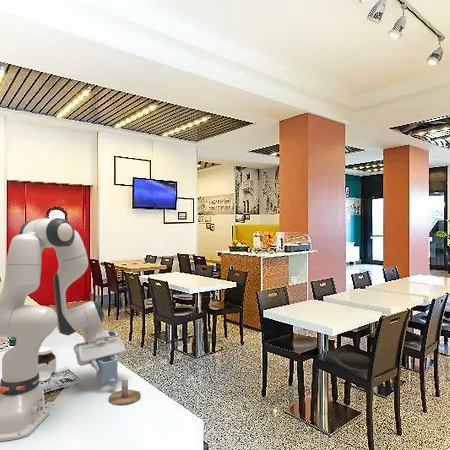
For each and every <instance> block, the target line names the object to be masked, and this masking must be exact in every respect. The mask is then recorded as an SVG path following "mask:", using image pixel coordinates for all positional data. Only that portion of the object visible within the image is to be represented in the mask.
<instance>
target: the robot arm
mask: <svg viewBox="0 0 450 450" xmlns="http://www.w3.org/2000/svg"><path fill="white" fill-rule="evenodd" d="M45 248H46V249H49V248H53V249H54V251H55V254H56V259H57V262H58V268H57V272H55V274H54V275H53V295H54V304H55V309H54V308H52V307H49V306H44V305H40V304H25V302H26V299H27V297H28V296H29V295H30V294H32V293H34V292H36V291H37V290H38V289H39V287H40V284H41V273H42V253H43V251H44V249H45ZM88 258H89V257H88V255H87V251H86V247H85V244H84V242H83V240H82V237H81V235H80V234H79V232H78V231H76V230H75V229H74V226H73V224H72V223H71V222H70V221H69V220H67V219H65V218H60V217H56V218H48V217H44V218H38V219H31V220H28V221H26V222H25V223H23V224H22V225H21V227H20V228H19V232H18V234H17V235H15V236H13V237H12V239H11V241H10V245H9V247H8V252H7V257H6V263H5V264H6V266H5V275H4V283H3V287H2V290H1V293H0V337H7V338H16V339H15V340H16V341H15V345H14V347H12V348H10V349H8V350H7V351H6V352H4V354H3V356H2V359H1V378H0V442H6V441H13V440H18V439H22V438H26V437H28V436H29V435H31V434H32V433H33V432H34V431H35V430H36V428H38V427H39V425H40V424H41V423H42V422H43V421H44V420H45V419H46V418H47V417H48V416H49V415H50V410H49V409H46V406H45V405H46V404H45V391H44V389H43V388H41V386H40V381H39V379H40V377H39V373H38V354H39V349H40V348H41V346H42V344H43V342H44V341H45V340H46V338H47V337H49V336H50V335H51V334H52V333H54V331H55V330H56V328H57V332H58V333H59V334H61V335H64V336H70V335H73V334H74V333H77V332H78V331H81V333H82V337H83V340H84V341H83V342H79V343H76V344H75V345H74V346H73V352H74V353H75V355H76V356H75V357H76V361H77V365H79V366H80V367H83V366H87V365H90V366H91V368H93V369H95V371H96V372H99V371H101V367H100V366H98V365H97V360H98V359H102V358H106V357H112V358H114V359H117V360H118V357H122V356H124V354H125V353H126V346H125V343H124V342H123V341H122V338H121V337H118V336H119V334H118V332H117V331H116V330H115V331H114V330H106V329H104V327H103V326H102V323H103V322H104V318H105V313H104V311H103V309H102V307H101V304H100V303H99V302H98V301H96V300H90V301H87V302H85V303H82V304H79V305H77V306H75V307H71V308H67V297H66V292H67V290H68V288H69V286H71V285H72V284H73V283H74V282H75V281H77V280H79V278H81V277H82V276H83V275H84V274H85V273H86V271H87V269H88V266H89V259H88ZM118 366H119V363H118V362H117V367H118Z"/></svg>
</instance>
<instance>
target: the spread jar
mask: <svg viewBox="0 0 450 450" xmlns="http://www.w3.org/2000/svg"><path fill="white" fill-rule="evenodd" d="M52 349H53V348H52V347H49V346H43V347H41V346H40V349H39V354H38V373H39V377H40V379H39V382H46V381H48V380H49V378H51V376H53V374H54V373H55V372H56V369H57V357H56V354H55V353H53V352H52Z"/></svg>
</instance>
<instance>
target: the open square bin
mask: <svg viewBox="0 0 450 450" xmlns="http://www.w3.org/2000/svg"><path fill="white" fill-rule="evenodd" d="M117 363H118V358H117V359H114V358H112V357H106V358H102V359H98V360H97V362H96V364H97V365H98V366H100V367H101V371H99V372H96V377H95V378H96V379H95V380H96V381H98V382H100V383H102V384H104V385H105V384H107V383H109V384H111V385H115V384H117V381H118V366H117Z"/></svg>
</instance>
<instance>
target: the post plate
mask: <svg viewBox="0 0 450 450" xmlns="http://www.w3.org/2000/svg"><path fill="white" fill-rule="evenodd" d="M141 395H142V394H141V392H140V390H139V391H138V390H135V389H129V380H128V379H122V380H121V390H118V391H115V392H113V393H111V394H110V395H109V396H108V403H110V404H111V405H114V406H127V405H131V404H134V403H137V402H138V401H140V399H141Z"/></svg>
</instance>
